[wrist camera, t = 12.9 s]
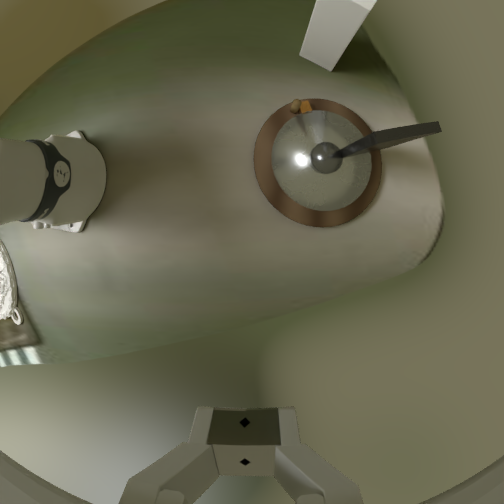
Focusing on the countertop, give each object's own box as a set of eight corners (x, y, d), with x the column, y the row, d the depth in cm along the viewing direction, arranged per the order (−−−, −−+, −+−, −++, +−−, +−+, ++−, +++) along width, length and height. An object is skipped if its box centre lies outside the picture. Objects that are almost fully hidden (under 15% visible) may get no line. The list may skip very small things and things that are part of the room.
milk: (313, 34, 34) (343, -49, 13) (344, 50, 35) (392, -25, 13) (298, 56, 35) (325, -32, 14) (331, 73, 36) (380, -5, 14)
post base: (255, 227, 41) (255, 231, 36) (252, 100, 37) (251, 89, 32) (378, 226, 41) (391, 230, 36) (373, 107, 37) (385, 99, 32)
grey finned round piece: (289, 223, 39) (308, 240, 24) (253, 116, 36) (251, 73, 21) (397, 190, 38) (457, 192, 23) (364, 92, 35) (408, 53, 20)
